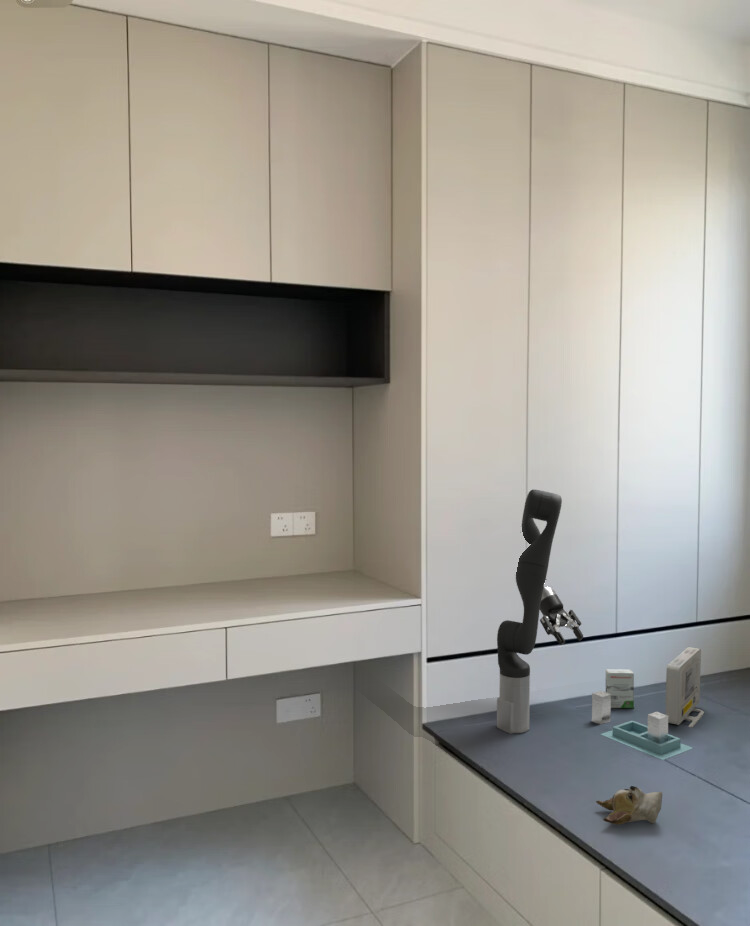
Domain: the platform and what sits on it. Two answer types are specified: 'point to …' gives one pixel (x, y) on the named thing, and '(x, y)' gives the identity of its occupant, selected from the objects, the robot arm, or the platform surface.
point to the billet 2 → (657, 727)
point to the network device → (683, 687)
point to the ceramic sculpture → (632, 806)
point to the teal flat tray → (645, 740)
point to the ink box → (620, 687)
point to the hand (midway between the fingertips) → (572, 641)
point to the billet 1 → (601, 707)
